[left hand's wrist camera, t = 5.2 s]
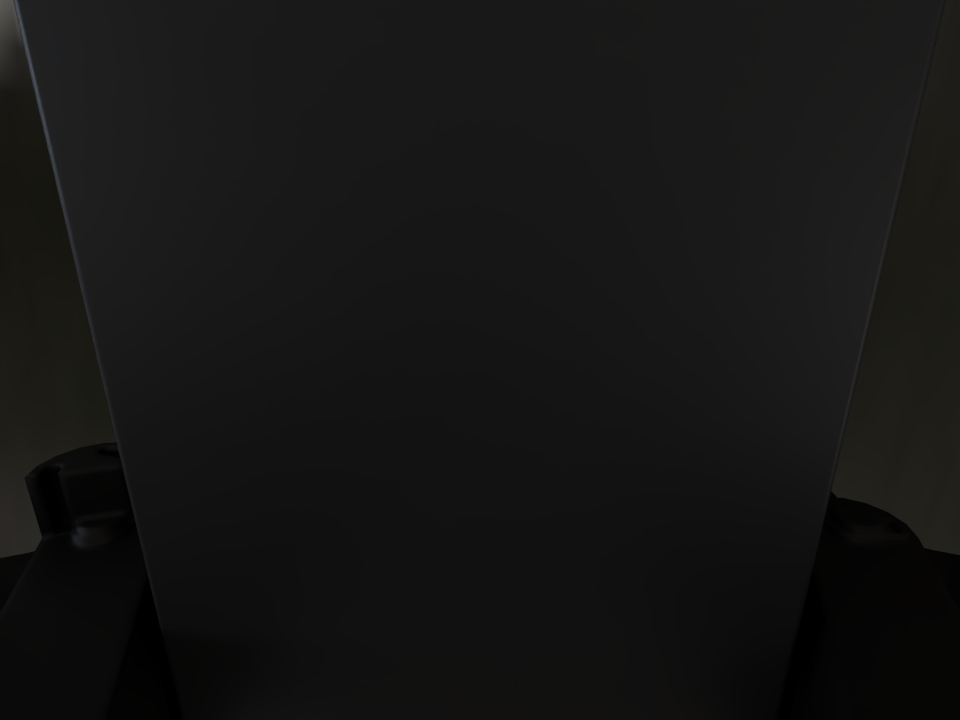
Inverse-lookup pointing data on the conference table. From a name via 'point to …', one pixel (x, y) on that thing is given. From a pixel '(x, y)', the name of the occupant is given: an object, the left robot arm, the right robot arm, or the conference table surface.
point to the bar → (479, 333)
